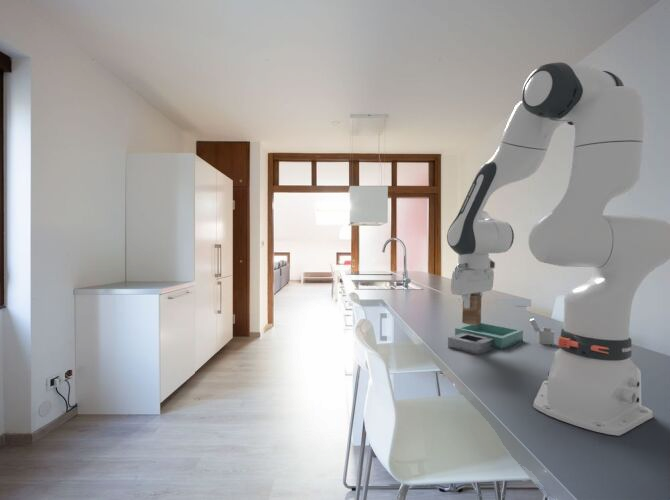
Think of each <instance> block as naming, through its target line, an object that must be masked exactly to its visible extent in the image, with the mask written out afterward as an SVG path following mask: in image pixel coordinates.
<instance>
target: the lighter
mask: <svg viewBox="0 0 670 500" xmlns="http://www.w3.org/2000/svg"><path fill="white" fill-rule="evenodd" d="M528 320H529V322H530V324H531V326H532V328H533V330H534V332H535V333H537V332H538V343H539V344H540V343H541V344H542V345H550V344H552V345H551V346H554V345H555V331H554V330H552V328H550V327H544V326H543V327H542V329H540V328H539V326H538V324H537V322H536V320H535V318H534V317H533V318H530V319H528Z"/></svg>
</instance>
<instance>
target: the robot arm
mask: <svg viewBox="0 0 670 500" xmlns="http://www.w3.org/2000/svg"><path fill="white" fill-rule="evenodd" d="M521 92H522V93H521V100H520V101H519V102H518V103H517V104H516V105H515V107H514V109H513V111H512V112H511V115H510V117H509V118H508V121H507V123H506V125H505V128H504V130H503V133H502V136H501V139H500V142H499V144H498V147H497V149H496V151H495V153H494V154H493V156H492V157H491V158H490V159H489V160H488V161H487V162H486V163H484V164H482V165H481V167H480V168H479V169H478V171H477V172H476V174H475V176H474V179H473V181H472V182H471V185H470V187H469V190H468V191H467V194H466V195H465V198H464V201H463V203H462V205H461V206H460V209H459V211H458V213H457V215H456V217H455V219H454V220H453V221H452V223H451V225H450V226H449V228H448V230H447V233H446V241H447V244H448V246H449V247H450V248H451V249H452V250H453V252H455V253H456V254H458V261H457V264H456V266H455V267H454V270H453V271H452V275H451V283H450V292H451V294H452V295H456V296H461V298H462V303H463V302H464V308H471V307H472V306H471V305H472V302H470V298H469V297H470V294H473V293H477V295H481V299H483V293H485V292H490V291H492V290H493V287H494V278H495V272H494V269H495V268H496V262H495V261H494V260H493V259H491V258H490V257H489V256H490V254H501V253H506V252H508V251H509V249H511V248H512V246H513V244H514V240H515V234H514V229H513V227H512V226H511V224H510V223H509V222H508V221H503V220H499V219H498V218H494V217H493V216H491V215H490V214H489V213H488V212H487V211H485V210H484V209H485V207H486V204H487V203H488V201H489V198H490V197H491V196H492V195H493V194H494V193H495V192H496V191H497V190H499V189H501V188H503V187H505V186H507V185H509V184H513V183H516V182H520V181H523V180H525V179H527V178H529V177H530V176H532V175H533V174H535V173H536V172H537V171H538V170H539V169H540V167H541V165H542V164H543V162H544V160H545V157H546V154H547V152H548V148H549V146H550V142H551V139H552V136H553V135H554V133H555V130H557V129H558V127H560V126H561V125H563V124H564V123H567V125H569V126H573V127H574V140H573V141H574V143H573V151H572V152H573V153H572V154H573V155H572V162H571V171H570V177H569V181H568V186H567V188H566V190H565V193H564V195H563V196H562V198H561V200H560V201H559V202H558V204H557V205H556V206H555V207H554V209H552V210H551V211H550V212H549V213H548V214H547V215H545V216H543V217H542V218H540V219H539V220H538V221H537V222H536V223H534V225H533V226H532V227H531V230H530V232H529V236H528V247H529V250H530V252H531V254H532V255H533V257H534V258H535V259H536V260H537V261H538V262H540V263H544V264H548V265H553V266H557V267H563V268H564V267H567V268H571V267H572V268H573V267H574V268H594V269H593V272H592V274H591V276H590V278H589V279H587V280H586V282H584V283H581V284H579V285H577V286H574V287H572V288H571V289H570V290H569V291H567V292H566V295H565V297H564V300H563V301H564V302H563V326H562V327H563V328H562V329H561V331H560V335H559V337H558V339H557V341H558V342H557V345H558V347H559V349H557V350H556V351H554V358H553V361H552V364H551V367H550V371H549V370H548V371H549V372H548V373H547V376H548V377H547V380H544V381H542V383H541V386H540V388H539V390H538V392H537V394H536V396H535V398H534V401H533V405H532V406H533V408H534V409H536V410H537V411H539V412H541V413H543V414H545V415H547V416H549V417H551V418H554V419H556V420H559V421H561V422H565V423H568V424H570V425H573V426H576V427H579V428H583V429H586V430H589V431H593V432H597V433H601V434H605V435H611V436H622V435H623V434H626V433H627V432H629V431H631V430H633V429H634V428H636V427H639V426H640V425H642V424H644V423H645V422H646V421H648V420H650V419H653V417H654V415H653V411H652V410H651V409H649V408H648V407H646V406H645V405H642V375H641V374H642V371H641V369H639V367H638V366H636V365H635V364H634V362H633V361H632V360H631V357H632V350H633V344H632V341H633V339H632V338H631V337H630V322H631V313H632V305H633V301H634V297H635V294H636V292H637V291H638V288H639V287H640V285H641V283H642V282H643V281H644V280H645V279H646V278H647V276H648V275H650V273H651V272H653V271H654V270H656V269H657V268H659V267H660V266H662V265H664V264H666V263H667V262H669V260H670V223H669V222H668V221H667V220H664V219H662V218H661V219H660V218H655V217H650V216H645V215H639V214H638V215H637V214H604V213H605V212H604V211H605V209H606V207H607V206H608V203H610V201H611V200H612V199H614V198H617V197H618V196H621V195H623V194H626V193H627V192H629V191H630V190H631V189H632V188H634V187H635V186H636V184H637V183H638V181H639V180H640V173H641V165H642V154H643V145H644V133H645V131H644V130H645V123H644V122H645V121H644V119H645V117H644V115H645V114H644V107H643V99H642V96H641V94H640V93H639V91H638V90H636V89H635V88H632V87H630V86H625V85H624V83H623V81H622V80H621V78H620V77H619V76H617V75H616V74H614V73H613V72H611V71H608V70H600V69H597V68H595V67H591V66H588V65H586V64H575V63H574V64H573V63H565V62H561V61H560V62H559V61H558V62H549V63H547V64H542V65H541V66H538V67H537V68H536V69H534V70H533V71H532V72H531V73H530V74H529V76H528V77H527V79H526V80H525V82H524V84H523V88H522V91H521Z"/></svg>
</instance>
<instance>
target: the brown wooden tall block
mask: <svg viewBox="0 0 670 500" xmlns="http://www.w3.org/2000/svg"><path fill="white" fill-rule="evenodd" d="M469 298H470V302H472V305H471V306H472V307H471V308H464V302H463V301H462V317H461V318H462V321H461V322H462V324H465V325H468V324H470V325H478V324H481V322H482V298H481V295H477V293H473V294H470V297H469Z"/></svg>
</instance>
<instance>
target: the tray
mask: <svg viewBox="0 0 670 500" xmlns="http://www.w3.org/2000/svg"><path fill="white" fill-rule="evenodd" d="M464 332H465V333H470V334H474V335H479V336H483V337H488V338H492V339H494V349H499V350H504V349H506V348H509V347H511V346H513V345H516V344H518V343H521V342H522V341H523V340H524V330H523V329H518V328H512V327H506V326H501V325H497V324H492V323H491V324H490V323H487V322H486V323H485V322H482V321H481V324H478V325H470V324H465V325H462V326H458V327H455V328H454V335H457V334H461V333H464Z"/></svg>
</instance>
